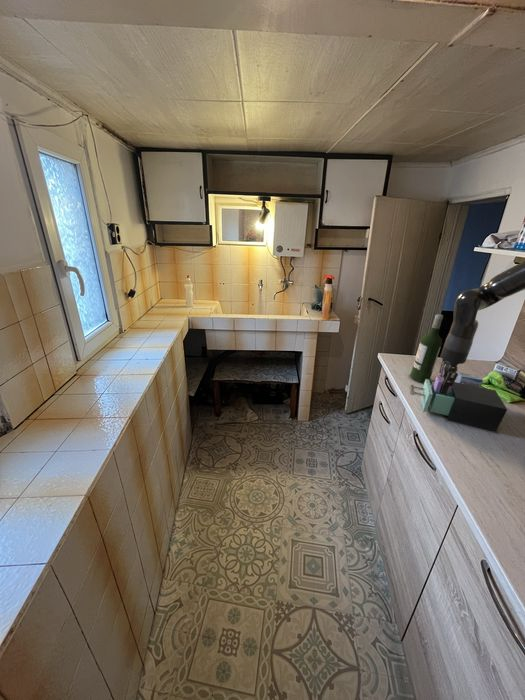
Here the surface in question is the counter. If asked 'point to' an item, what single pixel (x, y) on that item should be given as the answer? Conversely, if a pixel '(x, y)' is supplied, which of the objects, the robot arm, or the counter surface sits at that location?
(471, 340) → the robot arm
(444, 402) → the drawer
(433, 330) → the wine bottle
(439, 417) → the counter surface
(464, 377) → the medicine box
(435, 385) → the purple cube
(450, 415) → the drawer cabinet
